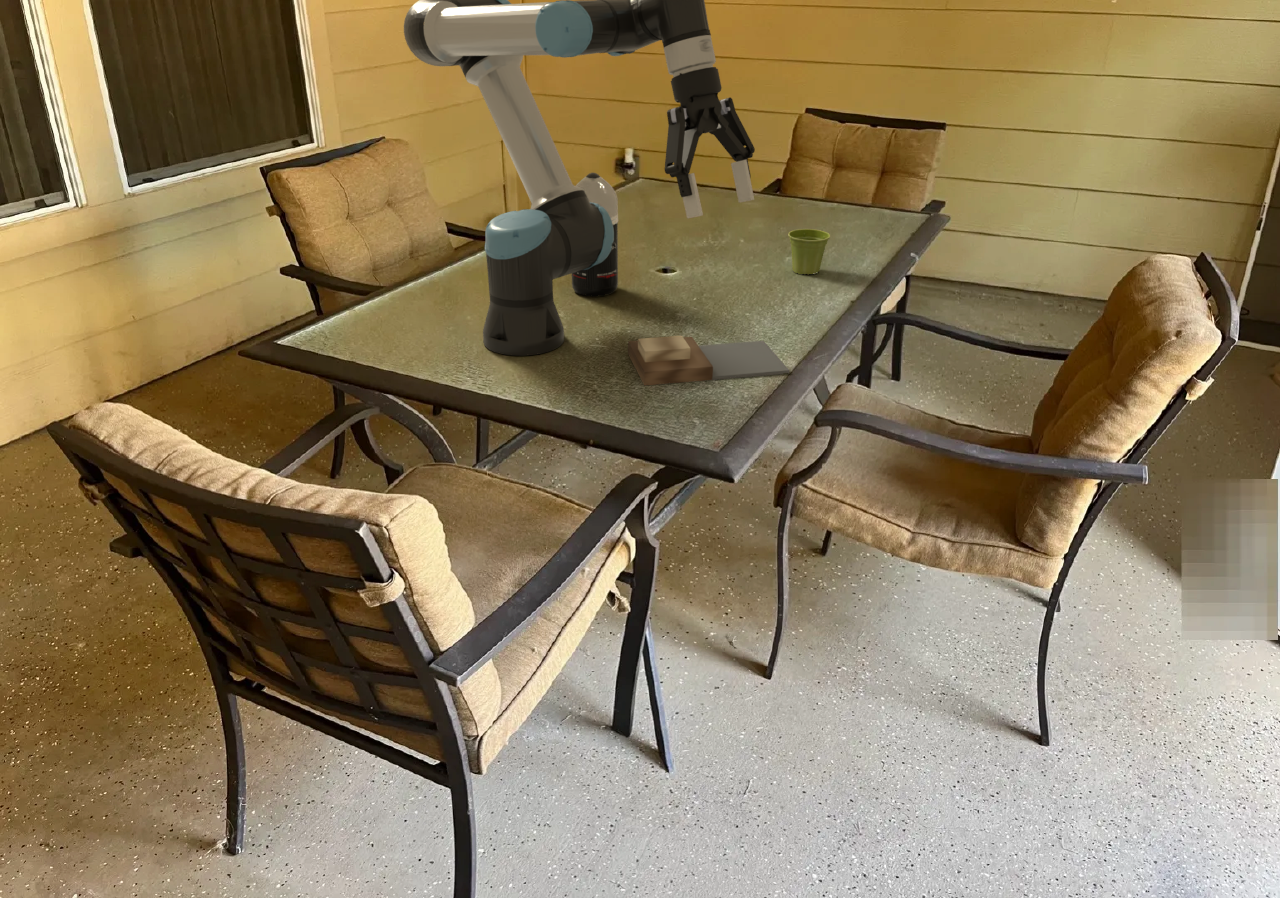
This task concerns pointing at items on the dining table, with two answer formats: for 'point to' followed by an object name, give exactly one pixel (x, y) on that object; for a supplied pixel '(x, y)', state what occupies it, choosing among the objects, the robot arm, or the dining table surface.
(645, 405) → the dining table surface
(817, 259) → the plant pot
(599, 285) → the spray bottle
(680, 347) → the birch tile
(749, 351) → the slate mat
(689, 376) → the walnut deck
